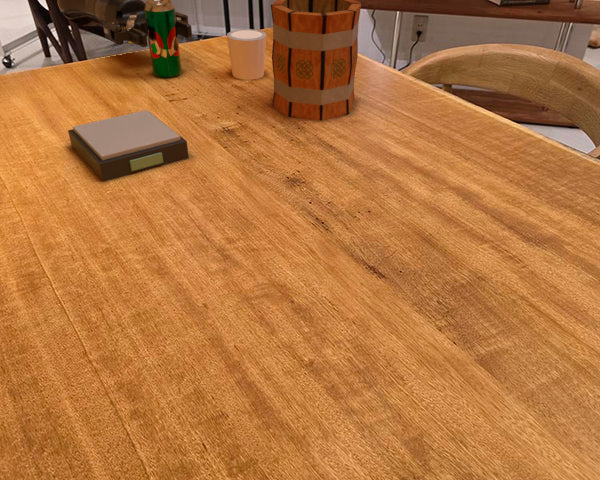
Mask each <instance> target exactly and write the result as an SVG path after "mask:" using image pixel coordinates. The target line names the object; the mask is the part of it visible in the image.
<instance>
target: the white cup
mask: <svg viewBox="0 0 600 480" xmlns="http://www.w3.org/2000/svg"><path fill="white" fill-rule="evenodd" d="M226 40H227V45H228V46H227V47H228V53H229V61H230V65H231V66H230V67H231V73H232V74H231V75H232V76H233V77H234V78H235V79H237V80H245V81H253V80H258V79H261V78H263V77H264V76H265V63H266V46H267V32H265V31H263V30H259V29H253V28H243V29H242V28H240V29H235V30H231V31H229V32H227V34H226Z"/></svg>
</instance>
